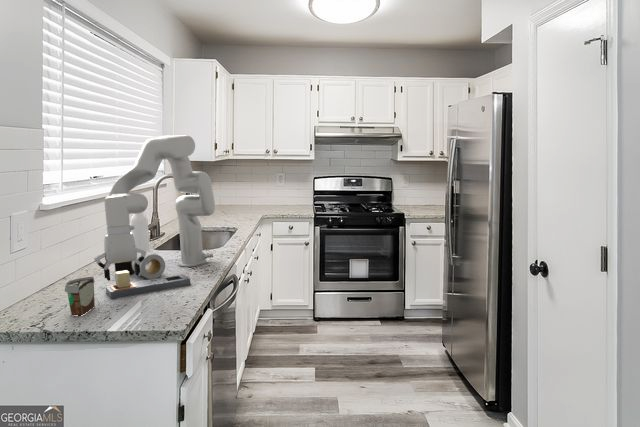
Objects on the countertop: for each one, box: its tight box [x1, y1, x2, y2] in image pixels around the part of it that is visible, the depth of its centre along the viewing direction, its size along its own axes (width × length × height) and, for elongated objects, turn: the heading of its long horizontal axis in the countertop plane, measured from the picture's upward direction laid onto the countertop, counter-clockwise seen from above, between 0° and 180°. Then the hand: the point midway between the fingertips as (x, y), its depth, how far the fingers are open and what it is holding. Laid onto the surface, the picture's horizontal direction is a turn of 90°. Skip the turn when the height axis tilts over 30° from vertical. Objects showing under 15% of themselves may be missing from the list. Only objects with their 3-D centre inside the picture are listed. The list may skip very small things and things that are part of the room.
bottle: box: [129, 212, 151, 263], centre depth 218 cm, size 8×8×30 cm
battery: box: [114, 261, 135, 276], centre depth 194 cm, size 4×7×10 cm, turn 91°
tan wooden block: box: [114, 270, 131, 289], centre depth 165 cm, size 4×4×8 cm
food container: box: [64, 276, 96, 316], centre depth 145 cm, size 12×6×10 cm, turn 5°
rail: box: [105, 273, 192, 300], centre depth 170 cm, size 28×9×3 cm, turn 124°
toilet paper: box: [132, 251, 166, 280], centre depth 189 cm, size 10×10×10 cm
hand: (123, 277), depth 165 cm, fingers open, 9 cm apart
